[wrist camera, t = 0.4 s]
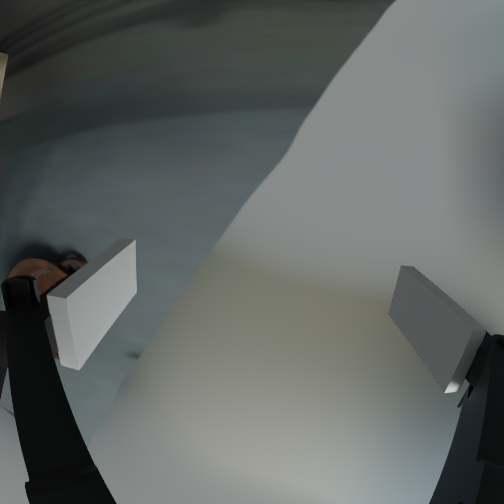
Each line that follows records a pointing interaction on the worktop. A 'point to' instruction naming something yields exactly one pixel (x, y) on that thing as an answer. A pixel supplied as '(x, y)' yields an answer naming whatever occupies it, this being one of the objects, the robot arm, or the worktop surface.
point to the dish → (45, 272)
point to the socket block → (2, 69)
